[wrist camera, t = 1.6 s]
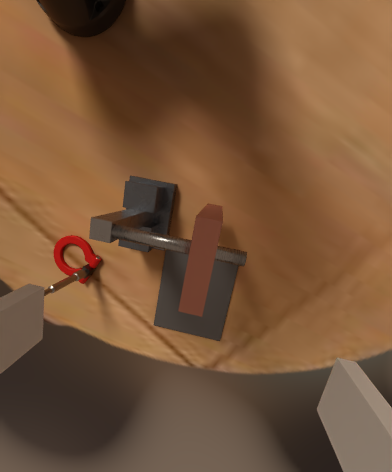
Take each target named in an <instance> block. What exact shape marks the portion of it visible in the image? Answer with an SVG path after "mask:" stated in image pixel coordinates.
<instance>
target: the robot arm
mask: <svg viewBox="0 0 392 472" xmlns="http://www.w3.org/2000/svg"><path fill="white" fill-rule="evenodd" d="M36 1H37V2H38V4H39V5H40V7H41V8H42V9H43V11H44V12H45V13H46V14H47V15H48V16H49V17H50V18H51V19H52V20H53V21H54V22H55V23H56V24H57V25H58V26H59V27H60V28H61V29H63V30H64V31H66V32H68V33H70V34H73V35H76V36H93V35H96V34H99V33H101V32H103V31H104V30H106V29H107V28H108V27H110V26H111V25H112V24H113V23H114V21H115V20H116V19H117V17H118V16H119V14H120V13H121V11H122V9H123V6H124V4H125V1H126V0H36ZM43 311H44V287H41V286H36V285H32V284H27V285H25V286H23V287H21V288H19V289H17V290H15V291H13V292H11V293H9V294H7V295H5V296H3V297H1V298H0V373H2V372H3V371H4V370H5V369H7V368H8V367H9V366H10V365H12V364H13V363H14V362H15V361H16V360H18V359H19V358H20V357H21V356H22V355H24V354H25V353H26V352H27V351H28V350H30V349H31V348H32V347H33V346H34V345H35V344H37V343H38V342H39V341H40V340H42V337H43ZM317 411H318V414H319V416H320V418H321V421H322V423H323V425H324V428H325V430H326V432H327V434H328V437H329V439H330V442H331V444H332V446H333V448H334V451H335V453H336V455H337V458H338V460H339V462H340V465H341V467H342V469H343V472H392V408H391V407H390V405H389V404H388V403H387V401H386V400H385V399H384V398H383V396H382V395H381V394H380V392H379V391H378V390H377V389H376V387H375V386H374V385H373V383H372V382H371V381H370V380H369V378H368V377H367V376H366V374H365V373H364V372H363V371H362V369H361V368H360V367H359V365H358V364H357V363H356V362H354V361H350V360H346V359H341V358H336V361H335V364H334V366H333V369H332V372H331V374H330V377H329V379H328V382H327V384H326V387H325V389H324V392H323V394H322V397H321V400H320V402H319V405H318V407H317Z"/></svg>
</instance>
